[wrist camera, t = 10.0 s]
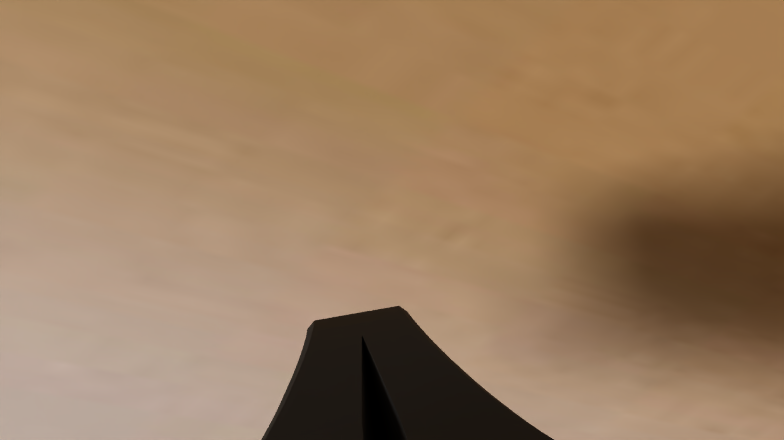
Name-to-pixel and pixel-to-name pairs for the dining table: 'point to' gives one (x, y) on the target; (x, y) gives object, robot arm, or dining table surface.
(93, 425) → the dining table surface
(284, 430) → the robot arm
